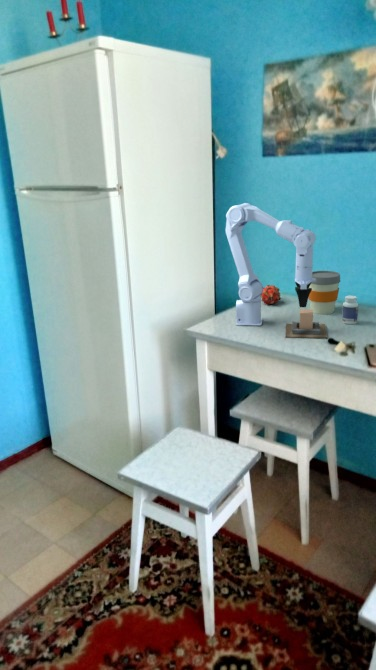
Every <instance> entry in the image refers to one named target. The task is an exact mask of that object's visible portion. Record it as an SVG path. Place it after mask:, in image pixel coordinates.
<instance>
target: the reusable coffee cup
mask: <svg viewBox="0 0 376 670" xmlns="http://www.w3.org/2000/svg"><path fill="white" fill-rule="evenodd" d="M312 278H315V281H312V282H311V284H310V286H309V288H312V291H311V292H310V294H309V297H308V300H309V305H310V306H309V307H310V309H313V314H316V315H330V314H333V313H334V311H335V308H336V302H337V301H338V298H339V292H340V287H339V286H340V283H341V274H340V272H337V271H334V270H314V271H312Z"/></svg>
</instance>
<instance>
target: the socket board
mask: <svg viewBox="0 0 376 670" xmlns="http://www.w3.org/2000/svg"><path fill="white" fill-rule="evenodd" d="M299 327H300V321H292V323H289V322H288V323H287V322H286V323H285V336H284V337H285V339H322V340H323V339H326V340H327V339H328V333H327V327H326V323H320V322H319V321H313V329H299Z"/></svg>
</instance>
